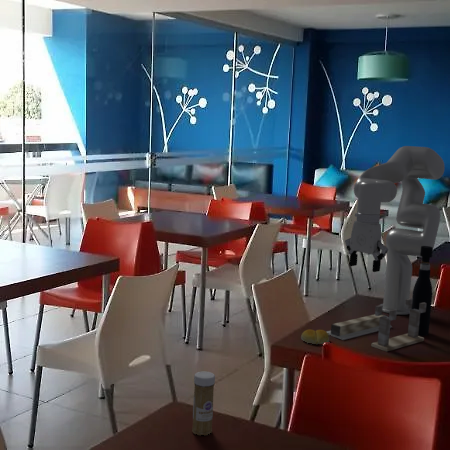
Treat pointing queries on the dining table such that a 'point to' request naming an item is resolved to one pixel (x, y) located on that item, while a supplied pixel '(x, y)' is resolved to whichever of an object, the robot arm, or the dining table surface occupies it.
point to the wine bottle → (423, 291)
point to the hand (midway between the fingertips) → (364, 268)
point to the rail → (355, 325)
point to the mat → (356, 333)
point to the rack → (402, 340)
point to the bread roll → (315, 336)
